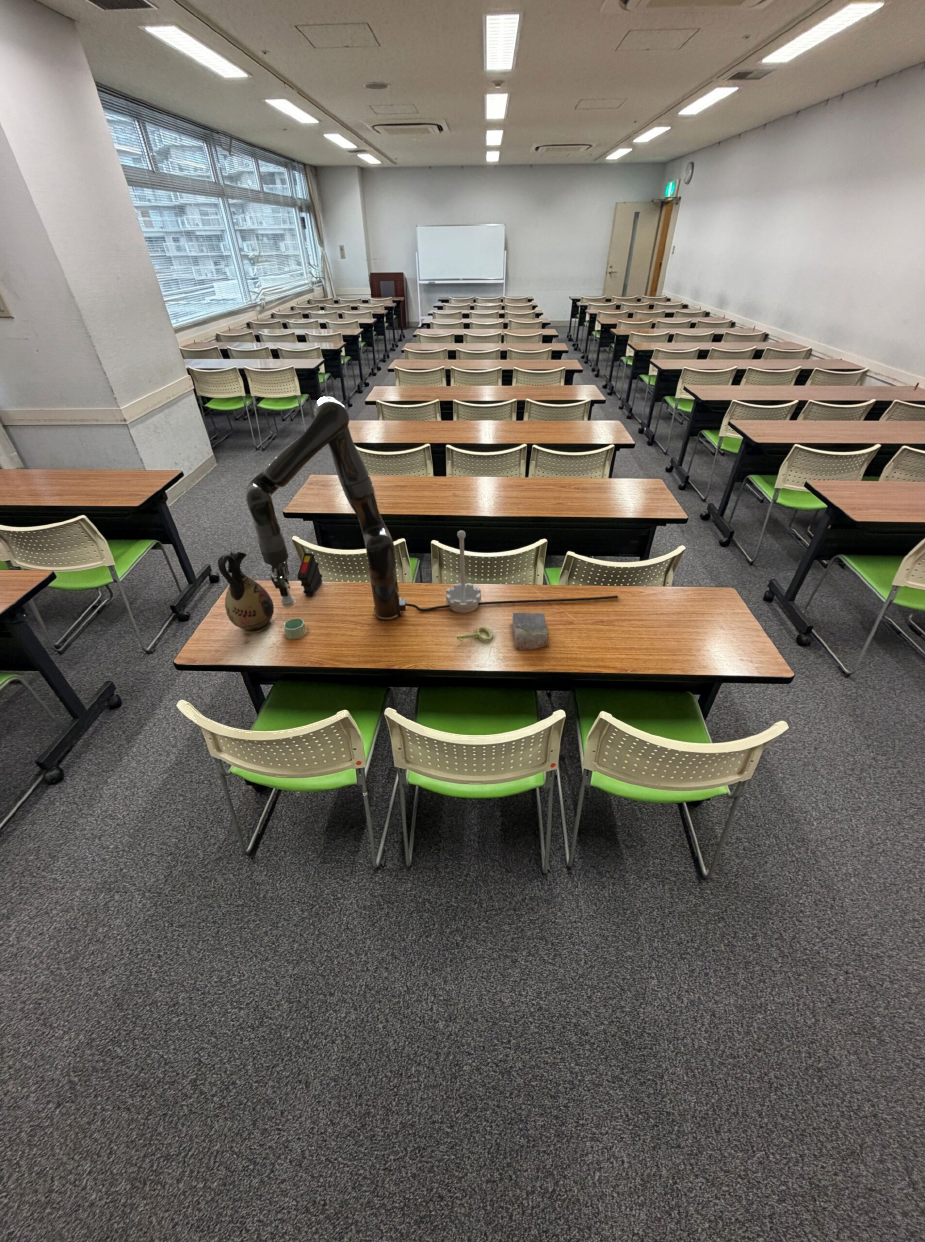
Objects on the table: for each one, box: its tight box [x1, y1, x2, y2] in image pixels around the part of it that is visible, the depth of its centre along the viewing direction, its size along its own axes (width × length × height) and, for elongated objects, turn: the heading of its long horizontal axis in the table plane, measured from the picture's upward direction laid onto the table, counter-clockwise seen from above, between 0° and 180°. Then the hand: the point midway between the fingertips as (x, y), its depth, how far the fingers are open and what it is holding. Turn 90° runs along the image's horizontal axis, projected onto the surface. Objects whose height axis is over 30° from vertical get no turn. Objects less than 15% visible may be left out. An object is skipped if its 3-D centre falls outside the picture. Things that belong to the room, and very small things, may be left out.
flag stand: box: [445, 530, 482, 614], centre depth 182 cm, size 13×13×30 cm
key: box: [456, 626, 493, 643], centre depth 173 cm, size 7×12×2 cm, turn 126°
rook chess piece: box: [281, 582, 297, 608], centre depth 170 cm, size 4×4×8 cm
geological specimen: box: [512, 612, 549, 651], centre depth 173 cm, size 11×6×15 cm
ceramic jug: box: [217, 551, 275, 635], centre depth 174 cm, size 17×15×30 cm
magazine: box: [296, 552, 323, 597], centre depth 199 cm, size 4×13×15 cm, turn 173°
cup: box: [283, 617, 307, 640], centre depth 178 cm, size 7×7×4 cm
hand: (285, 592), depth 169 cm, fingers closed on rook chess piece, 3 cm apart
